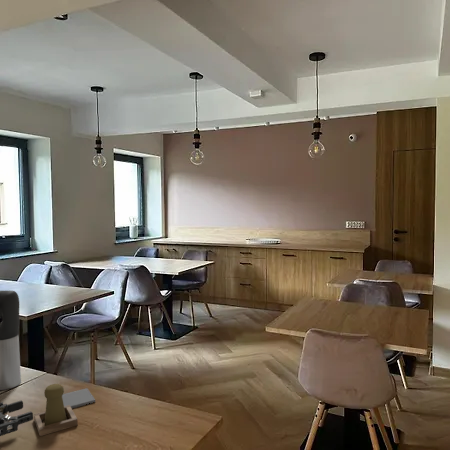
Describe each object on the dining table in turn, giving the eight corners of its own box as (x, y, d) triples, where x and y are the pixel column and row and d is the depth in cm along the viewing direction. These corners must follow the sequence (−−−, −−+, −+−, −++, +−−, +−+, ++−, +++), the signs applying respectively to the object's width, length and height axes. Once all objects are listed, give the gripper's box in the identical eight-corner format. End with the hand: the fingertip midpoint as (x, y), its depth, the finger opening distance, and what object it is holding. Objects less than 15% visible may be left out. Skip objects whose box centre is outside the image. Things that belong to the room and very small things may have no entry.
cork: (59, 415, 127) (58, 379, 126) (70, 421, 123) (69, 384, 122) (40, 423, 122) (38, 386, 121) (51, 430, 118) (49, 392, 117)
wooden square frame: (34, 420, 124) (33, 414, 124) (69, 410, 129) (69, 404, 129) (39, 436, 115) (39, 429, 115) (77, 425, 121) (77, 419, 121)
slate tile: (55, 398, 137) (55, 395, 137) (87, 390, 143) (87, 388, 143) (62, 411, 129) (62, 408, 129) (95, 402, 134) (95, 399, 134)
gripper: (-36, 428, 101) (35, 405, 111) (-48, 407, 111) (18, 388, 122) (-34, 459, 101) (37, 432, 112) (-46, 435, 112) (20, 413, 123)
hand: (27, 409), depth 117 cm, fingers open, 8 cm apart
